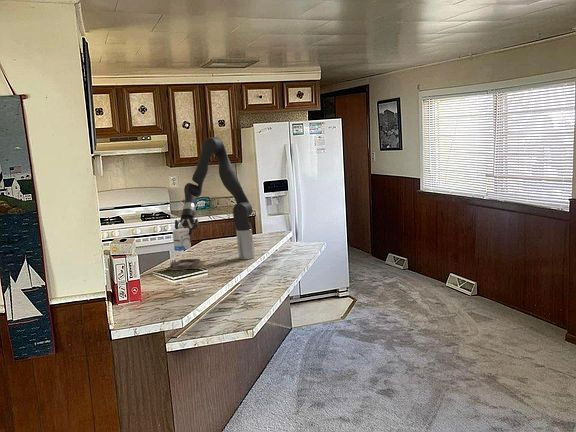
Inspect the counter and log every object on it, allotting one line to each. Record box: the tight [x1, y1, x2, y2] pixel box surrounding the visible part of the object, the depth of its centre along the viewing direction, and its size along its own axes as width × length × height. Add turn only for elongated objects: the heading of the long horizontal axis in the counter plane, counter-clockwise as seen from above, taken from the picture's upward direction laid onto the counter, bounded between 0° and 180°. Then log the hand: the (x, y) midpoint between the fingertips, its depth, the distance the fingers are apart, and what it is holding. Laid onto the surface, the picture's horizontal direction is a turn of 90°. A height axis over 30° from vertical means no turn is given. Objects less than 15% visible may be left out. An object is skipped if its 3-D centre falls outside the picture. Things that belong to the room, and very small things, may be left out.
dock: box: [165, 258, 207, 270], centre depth 304 cm, size 18×18×4 cm
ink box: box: [172, 227, 192, 252], centre depth 302 cm, size 9×5×12 cm, turn 142°
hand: (184, 235), depth 303 cm, fingers closed on ink box, 6 cm apart
